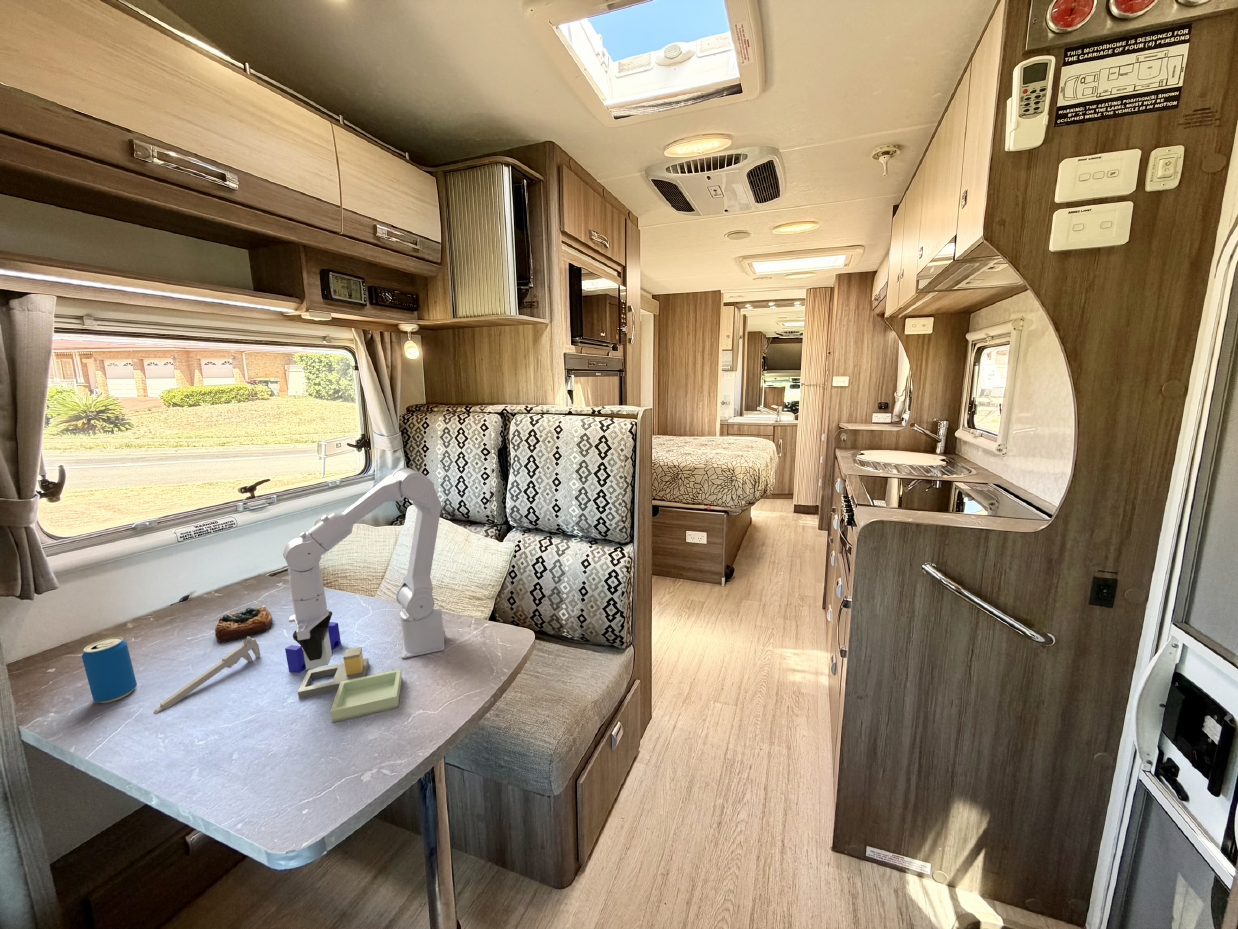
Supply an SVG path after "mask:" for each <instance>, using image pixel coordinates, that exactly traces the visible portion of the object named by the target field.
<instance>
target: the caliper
mask: <svg viewBox="0 0 1238 929" xmlns="http://www.w3.org/2000/svg"><path fill="white" fill-rule="evenodd" d="M241 641H242V643H243V644H241V645H239V646H238V647H237V648H235V649H234V650H233V651H231V652H229V653H228V654H227V655H225V656H223V657H222V658H221V661H219V662H218V663H217V664H215V665H214V666H213V667H211V668H209V669H208V670H206V671H205V672H203V673H202V674H200V675H199V676H198V677H196V678H195V679H193V680H192V681H190V683H188V684H186V685H185V686H184V687H182V688H181V689H179V690H178V691H176V692H175V693H173V694H172V695H171V696H169V697H167V698H166V699H165V700H163V701H162V702H161V703H159V704H160V705H159V706H158V707H157V708H156V709H154V711H153V713H155V714H159V713H160V712H162V711H163V710H166V709H168V708H170V707H171V706H174V705H175V704H177V703H179V701H181V700H182V699H184V698H185V697H186V696H188V695H190V694H191V693H192V692H193V691H195V690H196V689H197V688H199V687H200V686H201V685H203V684H205V683H206V682H208V681H209V680H211V678H213V677H214V676H216V675H218V674H219V673H220V672H221V671H222V670H224V669H226V668H228V669H230V668H232V667H233V666H234V665H235V664H237V663H238V662H239V661H240V660H241V659H244V660H245V661H247V662H250V663H252V662H253V661H254V660H253V657H252V656H251V654H250V652H249V651H251V652H252V653H253V654H254V657H255V658H259V659H260V656H261V652H260V651H261V650H260V647H259V643H258V642H257V640H256V639H255V638H252V636H249V637H248V636H247V637H246V640H244V639H242V640H241Z"/></svg>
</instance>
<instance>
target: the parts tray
mask: <svg viewBox="0 0 1238 929" xmlns="http://www.w3.org/2000/svg"><path fill="white" fill-rule="evenodd" d="M402 682H403V675H402V669H401V668H399V669H395V670H390V671H385V672H380V673H376V674H375V673H374V674H371V675H366V677H361V678H356V679H351V680H347V681H342V682H340V685H339V688H338V690H336V693H335V697H334V700H333V703H332V706H331V709H330V710H329V711H330V713H329V714H330V717H331V718H330V719H331V723H332V724H334V723H337V722H341V721H346V720H350V719H354V718H359V717H363V716H367V715H372V714H376V713H381V712H384V711H388V710H389V711H390V710H392V709H393V710H394V709H398V708H399V704H400V696H401V690H402V689H401V688H402Z"/></svg>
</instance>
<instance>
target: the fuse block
mask: <svg viewBox="0 0 1238 929" xmlns="http://www.w3.org/2000/svg"><path fill="white" fill-rule="evenodd" d="M363 655H364V654H363V647H362V646H360V647H359V646H358V647H355V648H348V649H346V650H345V651H344V655H343V661H344V662H341V663H338V664H332V665H326V666H321V667H316V668H311V669H307V672H306V674H305V676H304V678H303V681H302V682H301V684H300V686H299V688H298V691H297V695H298V699H303V698H308V697H312V696H317V695H321V694H327V693H331V692H337V691H338V688H339V685H340V682H342V681H347V680H351V679H356V678H361V677H366V676H367V672H368V668H369V666H370V665H369V664H370V662H369V657H367V658H364V656H363ZM333 675H334V677H333V679H332V680H331V681H327V682H323V683H318V684H312V685H310V684H311V682H312V681H313V680H314V679H318V678H323V677H329V676H333Z"/></svg>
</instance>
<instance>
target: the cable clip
mask: <svg viewBox="0 0 1238 929" xmlns="http://www.w3.org/2000/svg"><path fill="white" fill-rule="evenodd" d="M328 630H329V631H328V632H329V639H330V645H331V651H332V652H333V650H335V649H336V648H338V647H339V646H340V645H342V641H341V640H342V639H341V634H340V628H339V623H338V622H333V621H330V623H329V627H328ZM284 651H285V656H286V660H287V661H286V662H287V668H288V672H289V673H295V674H296V673H297V674H301V673H302V672H304V671H306V670H307V669H306V665H305V659H304V653H303V648H302V647H301V645H294V644H291V645H289V646H287V647H285V648H284Z"/></svg>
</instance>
